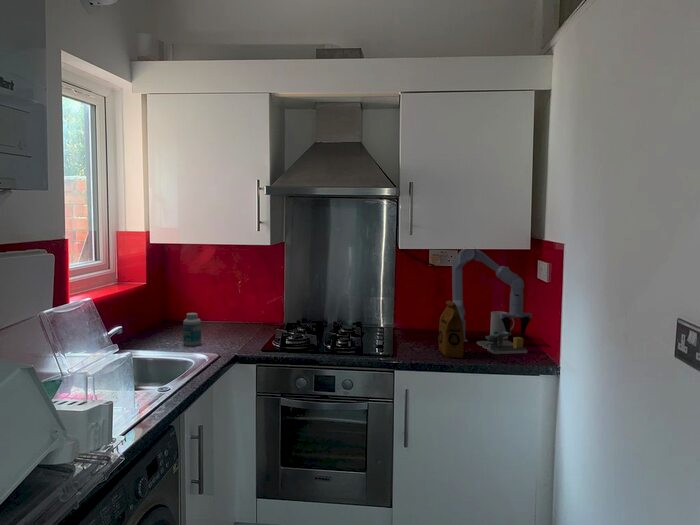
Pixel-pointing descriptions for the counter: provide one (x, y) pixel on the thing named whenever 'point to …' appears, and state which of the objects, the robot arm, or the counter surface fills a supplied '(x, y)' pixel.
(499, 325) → the mug
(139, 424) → the counter surface
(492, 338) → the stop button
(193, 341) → the pill bottle
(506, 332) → the teal tile with stripe
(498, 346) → the panel
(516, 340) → the slider knob
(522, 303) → the robot arm
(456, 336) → the coffee package
